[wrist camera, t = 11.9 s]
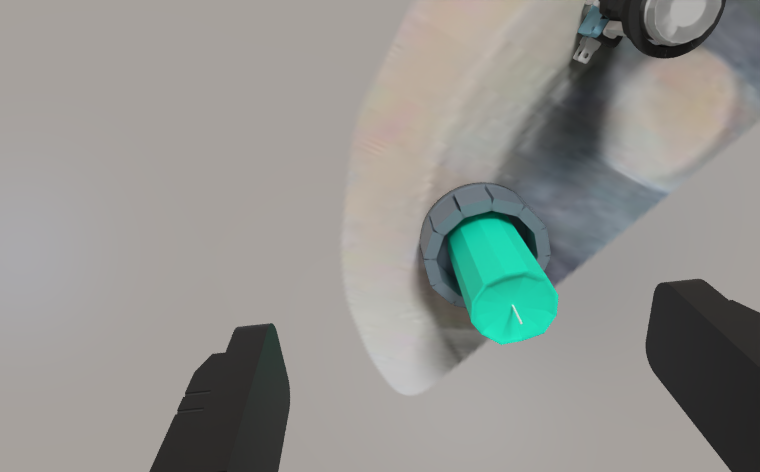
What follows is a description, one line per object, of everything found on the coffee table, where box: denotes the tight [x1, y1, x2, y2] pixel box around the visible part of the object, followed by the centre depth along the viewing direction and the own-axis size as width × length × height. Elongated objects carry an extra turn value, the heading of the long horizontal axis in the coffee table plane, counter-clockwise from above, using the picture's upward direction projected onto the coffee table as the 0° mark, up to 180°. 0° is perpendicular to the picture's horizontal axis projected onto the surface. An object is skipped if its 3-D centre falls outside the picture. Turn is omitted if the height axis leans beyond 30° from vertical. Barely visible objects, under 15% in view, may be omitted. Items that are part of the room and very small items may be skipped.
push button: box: [573, 0, 726, 64], centre depth 31 cm, size 7×5×10 cm
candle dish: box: [420, 183, 551, 308], centre depth 41 cm, size 10×10×4 cm
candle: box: [448, 211, 558, 345], centre depth 36 cm, size 6×6×12 cm
